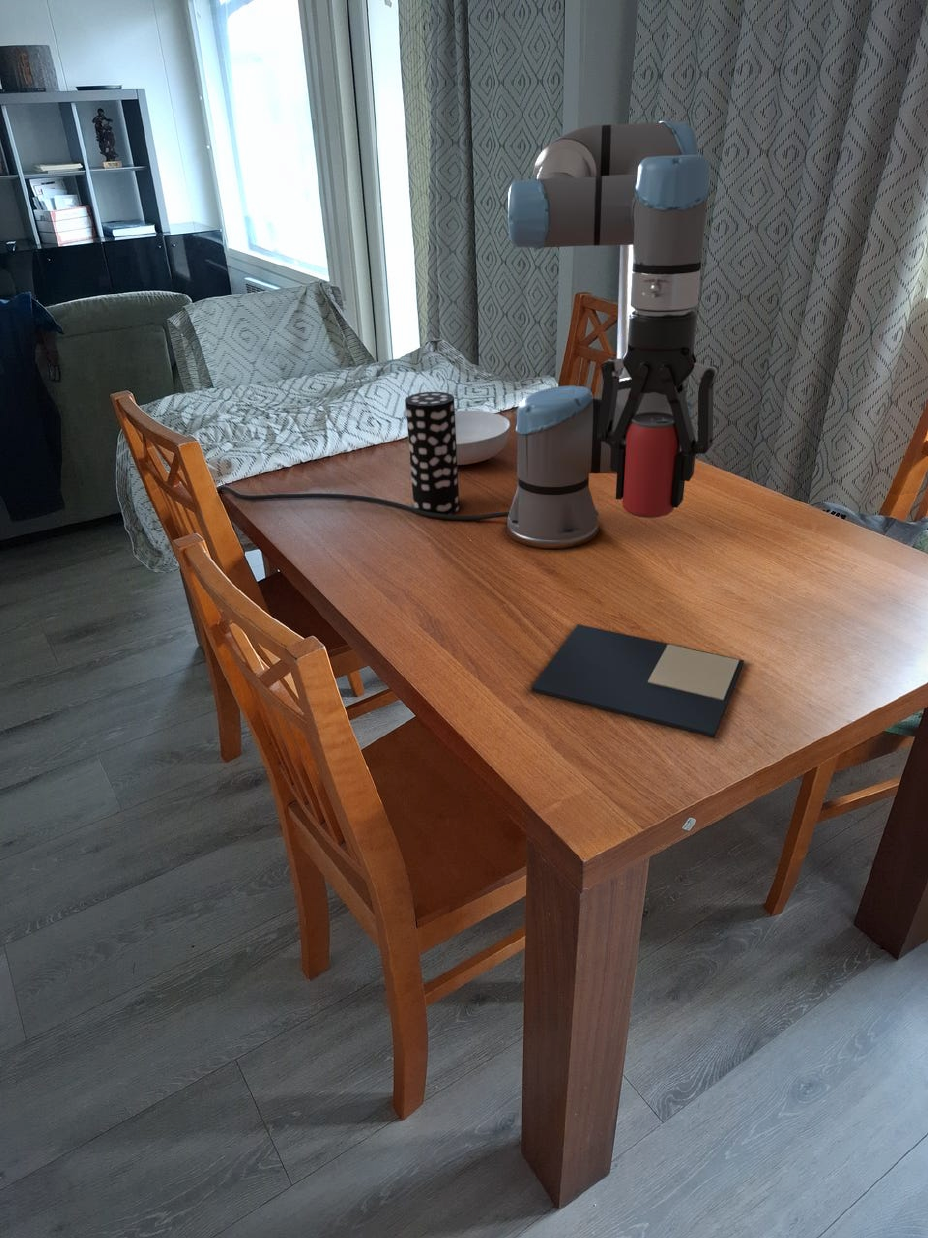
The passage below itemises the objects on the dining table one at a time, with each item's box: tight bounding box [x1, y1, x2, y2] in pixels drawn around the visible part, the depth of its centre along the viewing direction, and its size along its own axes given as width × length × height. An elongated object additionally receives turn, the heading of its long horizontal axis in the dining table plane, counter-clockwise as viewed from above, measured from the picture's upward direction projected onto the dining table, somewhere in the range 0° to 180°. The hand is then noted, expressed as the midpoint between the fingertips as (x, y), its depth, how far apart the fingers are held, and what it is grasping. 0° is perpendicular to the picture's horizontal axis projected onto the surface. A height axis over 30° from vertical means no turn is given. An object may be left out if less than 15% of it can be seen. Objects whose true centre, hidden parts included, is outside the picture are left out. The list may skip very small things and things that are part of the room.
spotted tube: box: [404, 391, 460, 517], centre depth 145 cm, size 8×8×20 cm
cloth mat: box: [530, 624, 745, 739], centre depth 102 cm, size 22×16×1 cm
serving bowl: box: [455, 410, 511, 466], centre depth 170 cm, size 21×21×7 cm
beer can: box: [622, 412, 680, 519], centre depth 103 cm, size 7×7×12 cm
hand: (649, 499), depth 106 cm, fingers closed on beer can, 6 cm apart
